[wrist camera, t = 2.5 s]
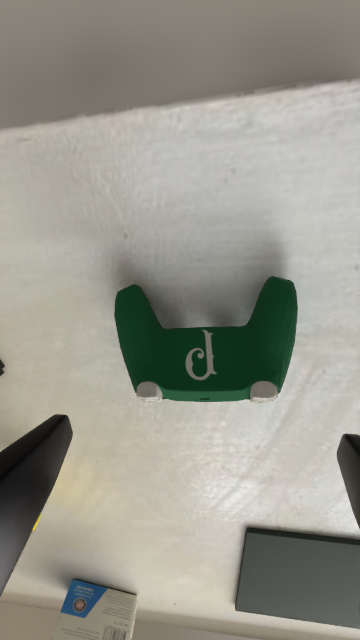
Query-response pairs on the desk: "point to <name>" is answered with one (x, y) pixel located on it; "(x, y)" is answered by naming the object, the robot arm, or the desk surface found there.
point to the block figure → (1, 368)
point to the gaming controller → (209, 350)
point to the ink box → (95, 614)
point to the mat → (300, 577)
